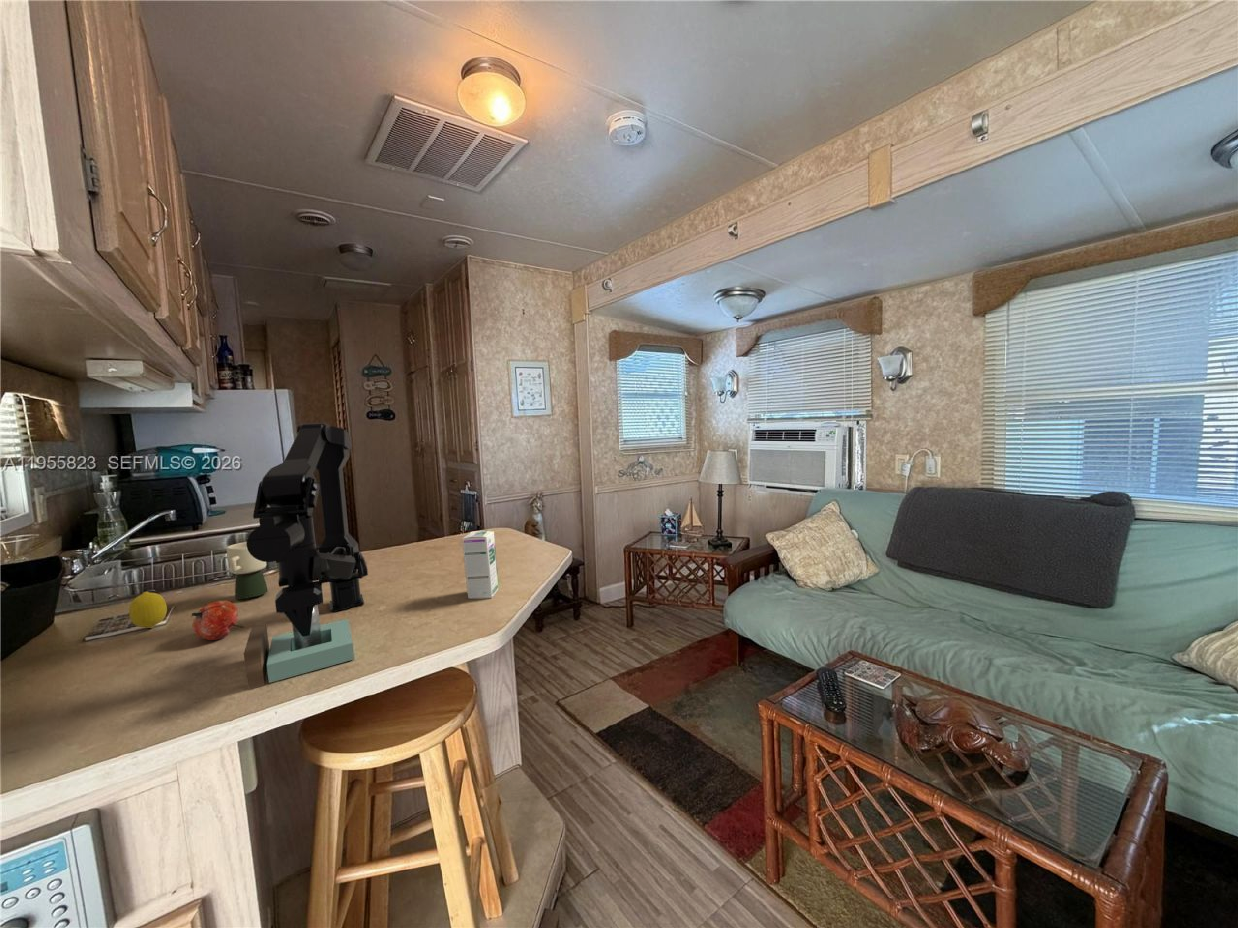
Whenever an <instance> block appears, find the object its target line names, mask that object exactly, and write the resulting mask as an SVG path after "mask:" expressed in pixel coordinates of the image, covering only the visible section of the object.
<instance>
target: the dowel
mask: <svg viewBox="0 0 1238 928" xmlns="http://www.w3.org/2000/svg"><path fill="white" fill-rule="evenodd" d="M320 625H321V622H320V613H319V605H315V606H314V608H313V614H312V622H311V631H310V635H309V636H305V637H302V635H301V634H300V633H299V631H298V630H297V629H296V628H295V626H294V625H293V624H292V623H291V626H292V632H293V636H294V644H295V649H296V650H299V649H303V648H307V647H311V646H315V645H319V644H321V643H322V636H321V628H320Z"/></svg>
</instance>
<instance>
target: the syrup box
mask: <svg viewBox="0 0 1238 928" xmlns="http://www.w3.org/2000/svg"><path fill="white" fill-rule="evenodd" d="M461 539H462V550H463V560H464V568H465V569H464V571H465V579H466V590H467V592H466V593H467V599H469V600H470V599H471V600H478V599H479V600H480V599H493V598H494V595H496V593H497V592H498V590H499V589H500V584H499V581H500V580H499V572H498V571H499V570H498V562H497V561H498V560H497V551H496V550H497V549H496V541H495V531H494V530H488V529H487V530H476V531H475V530H474V531H470V532H469V533H468V534H467V535H465V536H464V537H462V538H461Z"/></svg>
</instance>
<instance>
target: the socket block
mask: <svg viewBox="0 0 1238 928" xmlns="http://www.w3.org/2000/svg"><path fill="white" fill-rule="evenodd" d="M320 628H321V636H322V643H321V644H319V645H315V646H311V647H307V648H303V649H299V650H296V649H295V644H294V636H293V631H290V632H288V633H283V634H278V635H275V636H272V637H271V640H270V644H269V649H270V650H269V655H268V661H267V678H268V683H269V684H270V683H271V684H272V683H274V682H277V681H280V680H284V679H287V678H289V679H290V678H291V677H295V676H299V675H303V674H306V673H310V672H314V671H317V670H321V669H323V668H328V667H332V666H335V665H339V664H342V663H345V662H349V661H353V660H355V652H354V644H353V643H354V642H353V637H352V633H351V626H350V621H349V618H347V619H342V620H337V621H334V622H329V623H325V624H320Z"/></svg>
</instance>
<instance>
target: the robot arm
mask: <svg viewBox="0 0 1238 928" xmlns="http://www.w3.org/2000/svg"><path fill="white" fill-rule="evenodd" d="M296 433H297V434H296V436H295V439H294V441H293V442H292V444H291V447H290V448H289V450H288V453H287V454H286V456H285V459H284V460H283V461H282V463H279V464H278V465H274V466H273V467H270V469H269V470H268V471H267V473H265V475H264V476H263V477H262V480H261V481H259V485H258V488H257V492H256V493H257V495H256V498H255V504H254V510H253V515H252V518H253V520H254V519H256V520H257V519H258V522H259V526H258V527H256V528H255V529H253V530H252V531H251V532H250V534H249V535H248V538H247V541H246V542H247V549H248V551H249V553H250V554H251V555H252V556H253V557H254V558H256V559H257V560H260V561H263V562H266V563H271V562H272V563H273V562H275V563H276V564H277V570H278V571H277V572H278V587H281V589H280V590H279V591H278V593H277V594H276V595H275V600H274V603H275V604H274V605H275V611H276V613H278V614H281V613H283V614H284V615H285V616H286V617H287V619H288V620H289V621H290V623H291V625H292V624H293V625H294V626H295V628H296V629H297V630H298V631H299V633H300V634H301V635H302V637H305V636H309V635H310V631H311V622H312V614H313V608H314V606H315V605H318V606H319V605H321V604H323V603H324V594H323V593H324V592H323V586H322V585H323V584H325V583H329V590H330V598H331V600H330V601H329V608H330V612H332V613H333V612H336V611H341V610H346V609H350V608H354V607H359V606H363V605H365V601H364V598H363V594H361V587H360V586H361V584H360V579H363V578H364V577H366V576H369V571H368V565H367V561H366V560H365V558H364V555H363V554H362V552H361V551H360V550H359V543H358V541H356V540H355V538H354V537H353V536H352V534H350V532H349V531H350V530H349V523H348V522H349V521H348V513H347V511H348V510H347V501H346V490H345V480H344V479H345V478H344V470H343V469H344V467H345V466H346V464H347V462H348V460H349V458H350V455H351V453H350V450H351V449H352V445H353V442H352V437H351V434H350V433H349V432H348V431H347V430H346V429H344V428H341V427H336V426H332V425H330V424H329V423H325V422H310V423H309V422H308V423H307V422H305V423H302V424H298V426H297V430H296ZM316 470H317V473H318V480H317V478H316V477H315V471H316ZM318 481H319V483H318ZM319 493H320V501H321V511H322V512H321V513H322V522H323V523H322V524H323V532H324V533H323V534H324V538H323V540H322V542H321V544H320V545H319V546H318V545H317V544H316V543H317V541H316V535H315V528H314V527H315V526H314V519H313V513H314V509H316V508H317V502H318V498H319Z"/></svg>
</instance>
